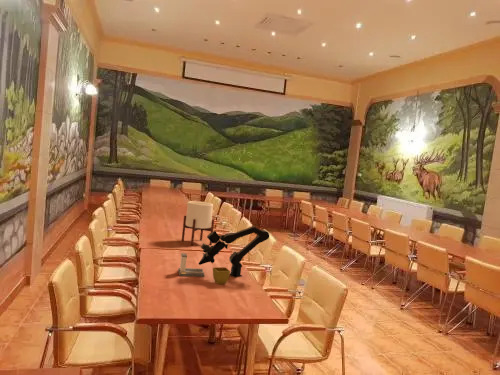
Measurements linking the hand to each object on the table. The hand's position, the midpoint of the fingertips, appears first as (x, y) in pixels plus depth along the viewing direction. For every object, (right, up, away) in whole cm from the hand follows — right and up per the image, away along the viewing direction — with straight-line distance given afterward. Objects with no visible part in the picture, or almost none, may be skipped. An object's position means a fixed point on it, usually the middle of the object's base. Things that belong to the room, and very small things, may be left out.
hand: (198, 264), depth 279 cm
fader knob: (-11, -4, -2) cm, 11 cm away
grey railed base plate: (-5, -6, -1) cm, 8 cm away
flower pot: (+15, -9, -14) cm, 23 cm away
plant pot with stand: (-14, +1, +97) cm, 98 cm away
